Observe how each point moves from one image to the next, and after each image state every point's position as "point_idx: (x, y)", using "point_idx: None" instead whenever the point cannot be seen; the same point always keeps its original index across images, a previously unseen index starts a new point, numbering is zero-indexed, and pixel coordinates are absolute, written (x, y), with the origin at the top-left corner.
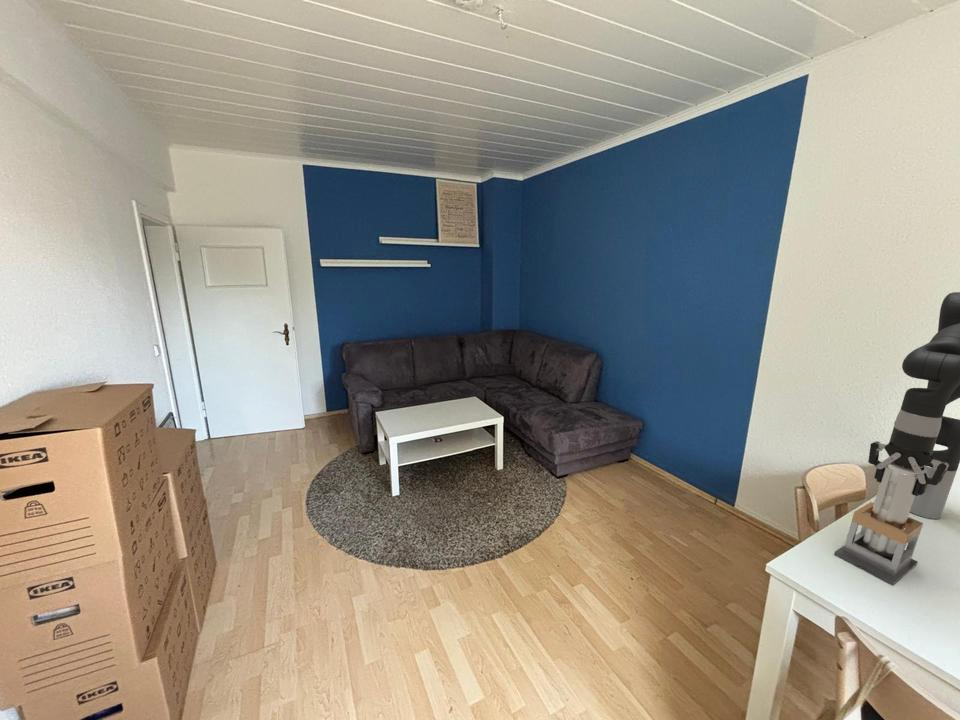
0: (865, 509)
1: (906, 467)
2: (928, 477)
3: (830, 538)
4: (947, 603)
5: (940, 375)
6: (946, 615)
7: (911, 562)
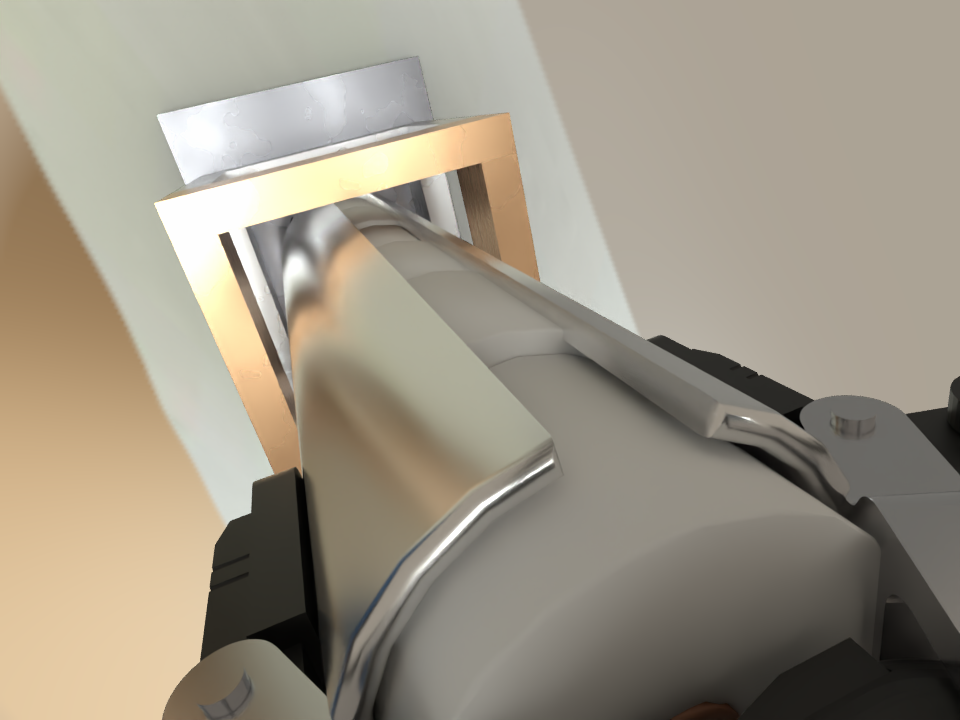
0: (273, 393)
1: (718, 718)
2: (924, 439)
3: (156, 314)
4: (592, 236)
5: None
6: (618, 311)
7: (415, 105)
